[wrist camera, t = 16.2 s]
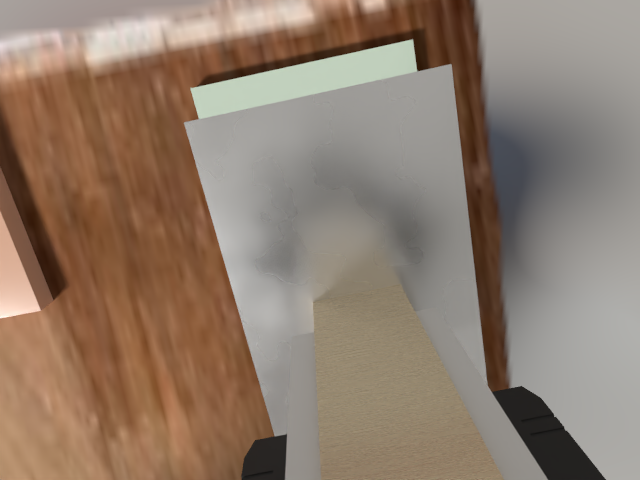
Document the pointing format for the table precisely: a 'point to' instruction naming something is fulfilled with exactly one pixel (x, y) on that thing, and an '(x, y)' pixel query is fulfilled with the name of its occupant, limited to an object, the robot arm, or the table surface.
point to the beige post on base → (354, 266)
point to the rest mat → (305, 79)
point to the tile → (18, 263)
